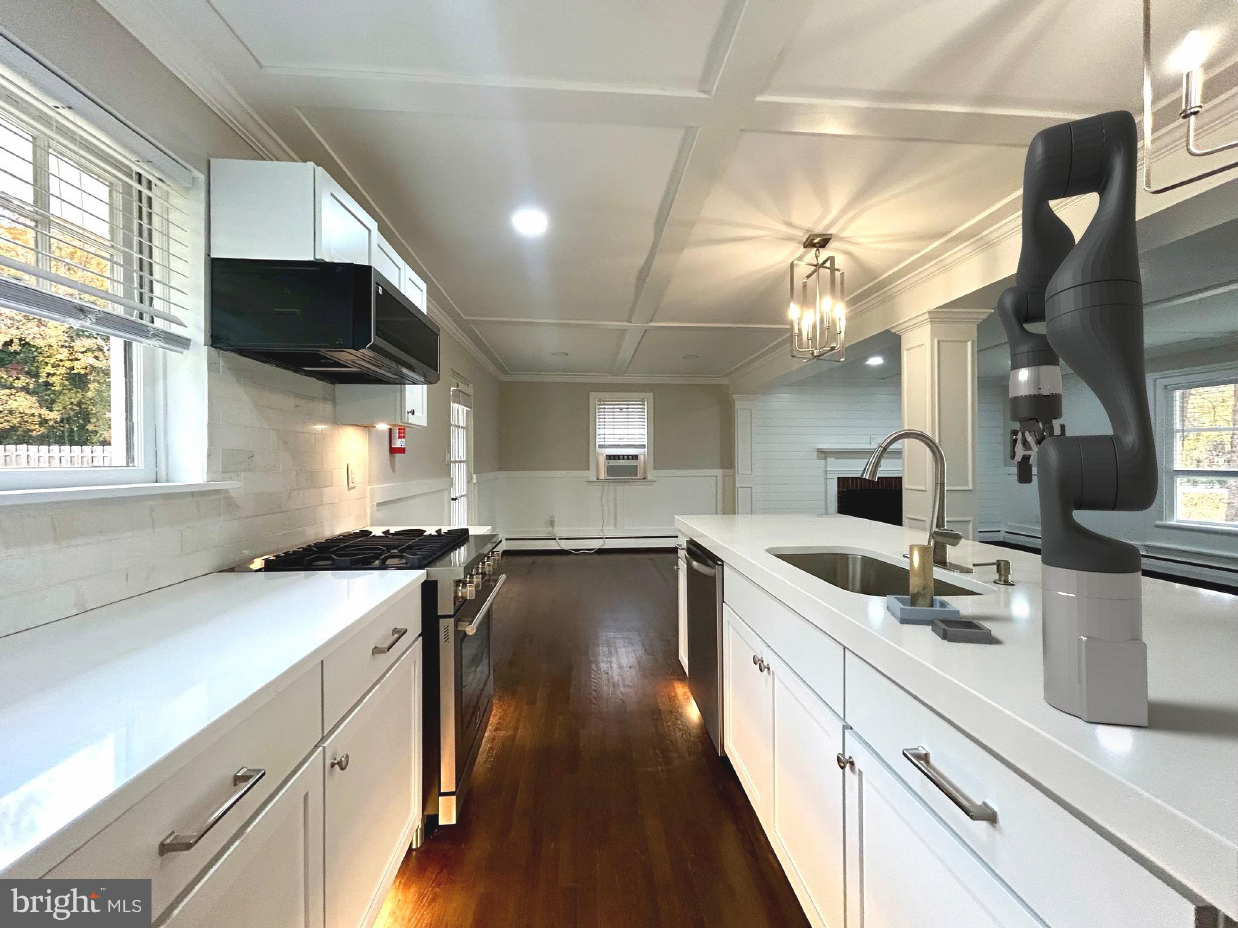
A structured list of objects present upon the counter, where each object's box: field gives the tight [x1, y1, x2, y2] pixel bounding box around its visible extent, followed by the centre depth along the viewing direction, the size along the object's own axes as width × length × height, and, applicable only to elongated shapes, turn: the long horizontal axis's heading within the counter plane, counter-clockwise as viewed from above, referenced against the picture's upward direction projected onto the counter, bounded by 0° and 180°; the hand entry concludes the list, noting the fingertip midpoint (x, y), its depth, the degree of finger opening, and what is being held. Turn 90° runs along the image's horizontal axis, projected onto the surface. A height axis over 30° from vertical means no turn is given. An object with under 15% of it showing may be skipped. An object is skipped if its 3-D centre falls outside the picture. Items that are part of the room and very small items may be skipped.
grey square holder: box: [930, 618, 992, 645], centre depth 93 cm, size 7×7×2 cm
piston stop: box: [908, 543, 935, 608], centre depth 104 cm, size 4×4×13 cm
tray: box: [886, 594, 961, 626], centre depth 104 cm, size 10×10×3 cm
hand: (1036, 484), depth 96 cm, fingers open, 8 cm apart
